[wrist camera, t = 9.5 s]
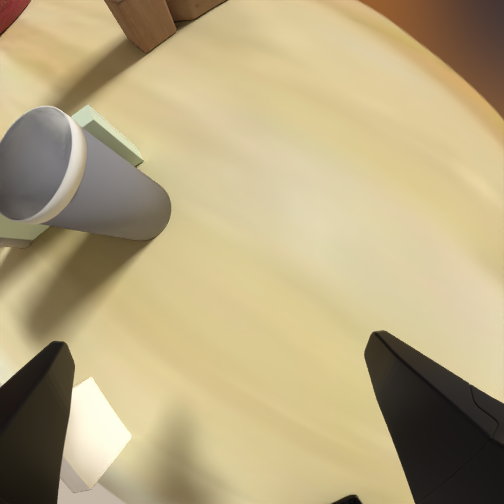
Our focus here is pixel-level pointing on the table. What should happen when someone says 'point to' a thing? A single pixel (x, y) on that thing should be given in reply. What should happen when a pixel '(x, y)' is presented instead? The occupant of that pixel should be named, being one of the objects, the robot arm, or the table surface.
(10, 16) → the canister
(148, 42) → the toy block tower
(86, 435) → the wall frame
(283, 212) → the table surface
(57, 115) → the post
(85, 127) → the door
